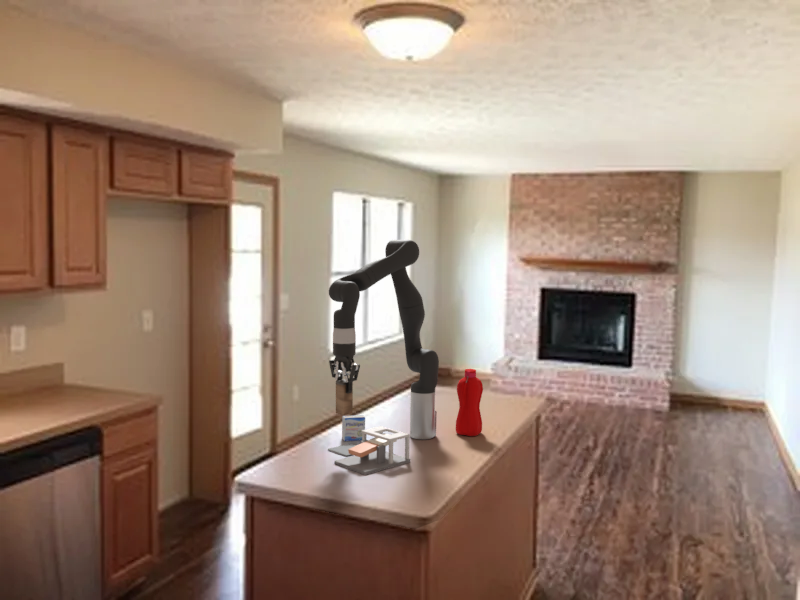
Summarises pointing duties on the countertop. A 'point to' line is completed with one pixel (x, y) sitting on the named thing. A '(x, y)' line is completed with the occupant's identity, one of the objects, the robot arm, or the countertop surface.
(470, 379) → the water bottle
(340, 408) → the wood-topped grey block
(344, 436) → the medicine box
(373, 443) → the rocker
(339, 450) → the mat
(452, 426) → the countertop surface
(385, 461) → the white square frame
